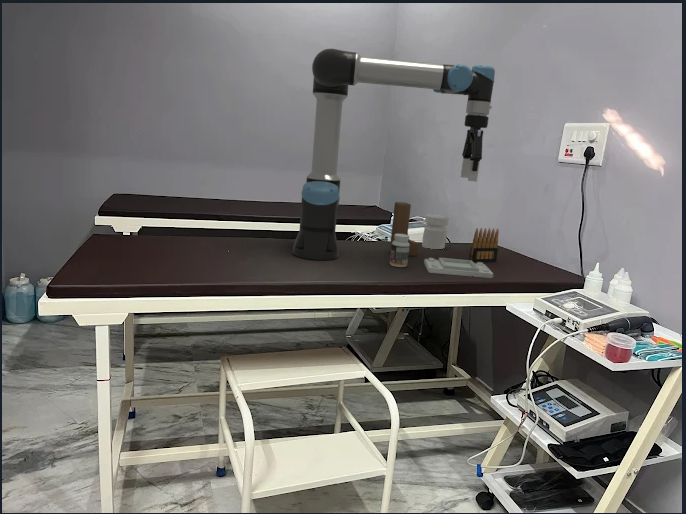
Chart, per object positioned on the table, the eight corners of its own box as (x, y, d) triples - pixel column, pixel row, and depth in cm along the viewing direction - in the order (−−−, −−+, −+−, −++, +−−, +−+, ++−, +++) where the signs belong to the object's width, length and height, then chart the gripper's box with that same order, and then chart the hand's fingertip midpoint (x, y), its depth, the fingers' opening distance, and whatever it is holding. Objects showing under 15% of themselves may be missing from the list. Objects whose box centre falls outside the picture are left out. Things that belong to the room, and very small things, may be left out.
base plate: (428, 272, 172) (429, 264, 172) (423, 263, 184) (424, 255, 184) (492, 278, 172) (493, 270, 172) (483, 268, 184) (485, 261, 184)
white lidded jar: (417, 245, 213) (421, 214, 210) (435, 244, 217) (439, 214, 214) (430, 250, 206) (434, 218, 203) (449, 249, 210) (453, 218, 207)
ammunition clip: (493, 260, 198) (498, 227, 195) (496, 262, 196) (501, 228, 193) (468, 261, 193) (473, 227, 191) (471, 262, 192) (476, 228, 189)
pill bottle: (388, 262, 181) (391, 232, 178) (405, 263, 181) (408, 233, 179) (391, 267, 175) (394, 236, 173) (408, 268, 176) (412, 237, 174)
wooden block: (412, 253, 198) (418, 203, 194) (417, 256, 194) (423, 205, 190) (388, 252, 196) (394, 201, 192) (393, 255, 192) (398, 203, 187)
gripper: (497, 115, 172) (487, 183, 176) (480, 116, 196) (472, 177, 201) (473, 113, 172) (464, 181, 177) (459, 114, 196) (451, 175, 201)
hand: (468, 179), depth 189 cm, fingers open, 13 cm apart
